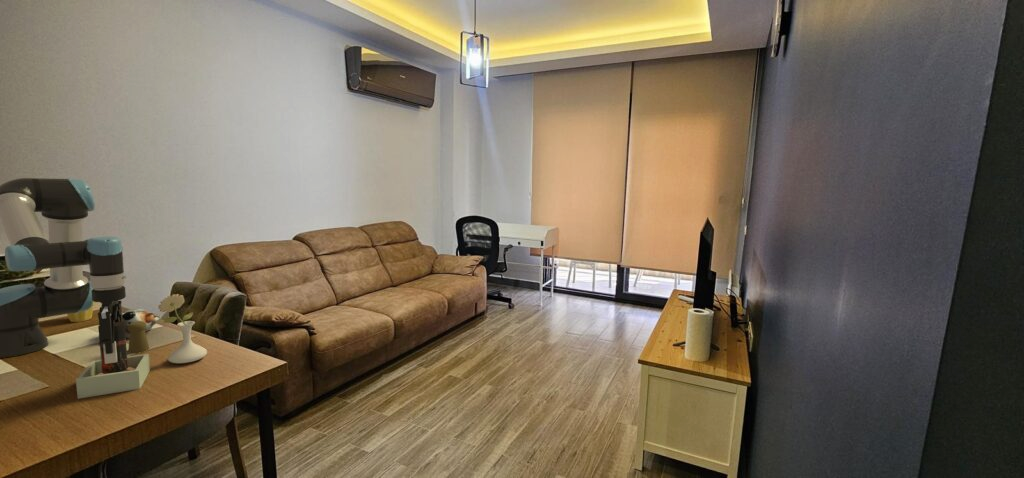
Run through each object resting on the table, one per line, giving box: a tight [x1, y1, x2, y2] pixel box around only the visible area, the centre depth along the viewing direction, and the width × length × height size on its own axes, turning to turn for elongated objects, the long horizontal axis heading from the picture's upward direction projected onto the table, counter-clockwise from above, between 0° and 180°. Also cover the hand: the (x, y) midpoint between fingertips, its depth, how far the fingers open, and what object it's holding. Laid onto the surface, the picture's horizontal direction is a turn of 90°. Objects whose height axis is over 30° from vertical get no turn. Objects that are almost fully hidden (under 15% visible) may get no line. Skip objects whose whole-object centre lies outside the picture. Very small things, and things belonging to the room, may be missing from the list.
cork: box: [127, 321, 150, 354], centre depth 157 cm, size 6×6×11 cm
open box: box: [75, 353, 151, 400], centre depth 132 cm, size 14×14×6 cm
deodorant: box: [98, 321, 128, 374], centre depth 131 cm, size 6×6×15 cm
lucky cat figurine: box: [122, 308, 161, 339], centre depth 171 cm, size 15×12×14 cm
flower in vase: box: [157, 293, 208, 364], centre depth 150 cm, size 13×11×25 cm
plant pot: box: [66, 302, 97, 323], centre depth 184 cm, size 10×10×10 cm
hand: (114, 358), depth 132 cm, fingers closed on deodorant, 6 cm apart
